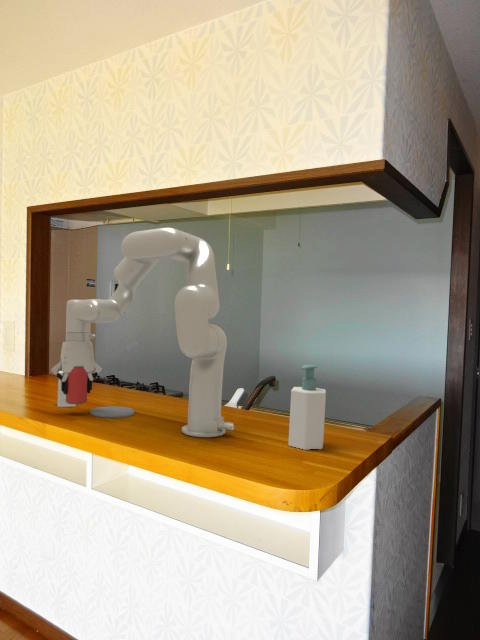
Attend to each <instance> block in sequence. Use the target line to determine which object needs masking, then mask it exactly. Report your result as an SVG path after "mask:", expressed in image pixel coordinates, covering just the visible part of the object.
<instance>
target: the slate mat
mask: <svg viewBox="0 0 480 640" xmlns="http://www.w3.org/2000/svg"><path fill="white" fill-rule="evenodd" d="M134 414H135V410H134V408H131V407H128V406H127V407H126V406H117V405H116V406H114V405H111V406H99V407H94V408H92V409H90V415H91V416H93V417H97V418H104V419H107V418H108V419H116V418H117V419H118V418H119V419H121V418H128V417H132V416H134Z"/></svg>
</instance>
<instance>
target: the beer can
mask: <svg viewBox="0 0 480 640" xmlns="http://www.w3.org/2000/svg"><path fill="white" fill-rule="evenodd" d="M66 382H67V394H66V403H68V404H76V405H82V404H86V403H88V402H87V401H88V393H87V384H88V373H87V372H86V370H85V369H84V366H80V367H74V368H73V369H72V371H71V372H70V373H68V377H67V379H66Z"/></svg>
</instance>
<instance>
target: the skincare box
mask: <svg viewBox="0 0 480 640" xmlns="http://www.w3.org/2000/svg"><path fill="white" fill-rule="evenodd" d="M58 372H59V373H60V374H61V375H62V374H63V373H64V372H62V371H61V370H59V371H58ZM57 378H58V377H57ZM57 382H58V383H57V408H59V407H60V408H62V407H63V408H64V407H65V408H66V407H74V408H75V407H76V406H77V404H68V403H66V394H63V392H62V391H61V383H62V381H61V380H60V379H59V378H58V381H57Z"/></svg>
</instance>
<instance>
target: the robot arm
mask: <svg viewBox="0 0 480 640" xmlns="http://www.w3.org/2000/svg"><path fill="white" fill-rule="evenodd" d="M120 250H121V254H122V255H123V258H122V260H121V261H120V262H119V264H118V265H117V266H116V267H115V268H114V271H113V274H114V275H113V276H114V277H115V279H116V280H117V281H118V284H117V288H116V290H115V291H114V292H113V293H112V295H111V296H110V297H109V298H108V299H103V298H102V299H99V298H98V299H97V298H91V299H90V298H89V299H69V300H68V301H67V302H66V313H65V315H66V316H65V341H62V346H61V349H60V350H61V352H60V360H59V362H58V363H56V365H54V366H53V367H52V368H51V370H50V371H51V372H52V374H54V375H55V376H56V378H59V379H60V380H61V381H62V383H61V391H62V392H63V394H67V382H66V379H67V377H68V373H70V372H71V371H72V369H73V368H74V367H80V366H84V369H85V370H86V372H87V373H88V384H87V394H91V391H92V390H93V381H94V380H95V378H96V377H97V376H98V375H99V374H101V372H102V371H103V367H101V365H100V364H98V363H97V362H96V361H95V355H94V346H93V342H92V341H91V340H92V339H95V337H96V334H93V333H91V323H92V324H105V323H106V324H108V323H109V324H110V323H115V322H116V321H118V320H119V319H120V318H121V317H122V316H123V315H124V314H125V313H126V312H127V310H128V309H129V308H130V306H131V305H132V303H133V302H134V299H135V296H136V290H137V287H138V286H139V284H141V282H142V281H143V280H144V279H145V277H146V276H147V275H148V274H149V272H151V270H152V269H153V268H154V267H155V265H156V264H157V263H158V262H159V261H160V259H164V258H165V259H166V258H167V259H171V260H175V261H179V262H180V261H181V262H184V263H185V262H186V263H187V264H188V265H187V268H186V269H187V271H186V279H187V285H185V286H183V287H182V288H181V289H179V291H178V292H177V293H176V296H175V300H174V315H175V324H176V325H175V327H176V337H177V341H178V342H177V343H178V346H179V349H180V351H181V353H183V355H185V356H186V357H187V358H190V359H192V360H191V365H190V371H189V372H190V373H189V387H188V405H187V406H188V410H187V424H186V425H184V426H182V427H181V432H182V433H183V434H184V435H186V436H191V437H196V438H213V437H214V438H215V437H221V436H223V435H225V434H226V431H234V429H235V424H234V423H233V422H229V421H225V420H224V416H222V413H221V412H222V398H223V397H222V395H223V379H224V365H225V359H226V352H227V349H228V348H227V347H228V340H227V335H226V333H225V332H224V330H223V329H222V328H221V327H220V326H218V325H216V324H212V323H209V319H212V318H214V317H216V315H218V312H219V310H220V298H219V296H220V295H219V289H218V287H219V286H218V280H217V274H216V261H215V253H214V251H213V248H212V247H211V245H210V244H209V243H208V242H207V241H206V240H204V239H203V238H201V237H199V236H196V235H193V234H191V233H188V232H185V231H182V230H179V229H177V228H173V227H160V228H154V229H153V228H152V229H147V230H146V229H145V230H139V231H133V232H131V233H129V234H127V235H126V236H125V237H124V238H123V240H122V241H121V245H120ZM58 370H59V371H62V372H64V373H63V374H62V375H61V374H60V373H59V371H58ZM94 370H95V371H94Z"/></svg>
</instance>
